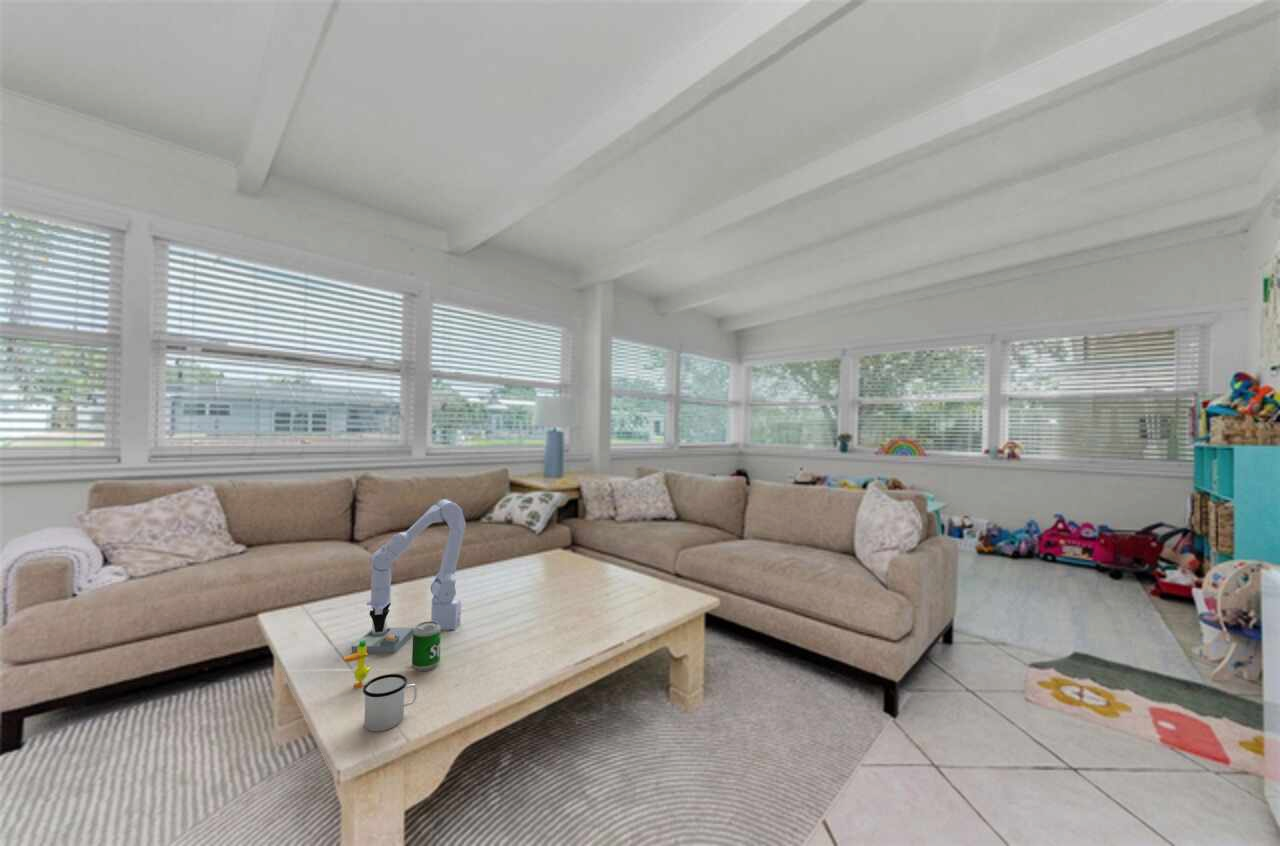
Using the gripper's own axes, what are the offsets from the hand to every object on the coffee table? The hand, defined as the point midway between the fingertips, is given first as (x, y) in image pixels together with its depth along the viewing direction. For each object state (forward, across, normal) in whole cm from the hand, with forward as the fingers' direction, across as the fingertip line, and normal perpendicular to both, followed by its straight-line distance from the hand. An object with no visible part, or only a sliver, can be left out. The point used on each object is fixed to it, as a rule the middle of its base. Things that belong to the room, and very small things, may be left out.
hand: (379, 628), depth 159 cm
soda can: (+4, +24, +14) cm, 28 cm away
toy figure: (+4, +30, -3) cm, 30 cm away
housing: (+3, +4, +2) cm, 6 cm away
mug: (+4, +49, +6) cm, 50 cm away
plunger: (+1, +10, +4) cm, 11 cm away
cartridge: (+3, 0, 0) cm, 3 cm away
